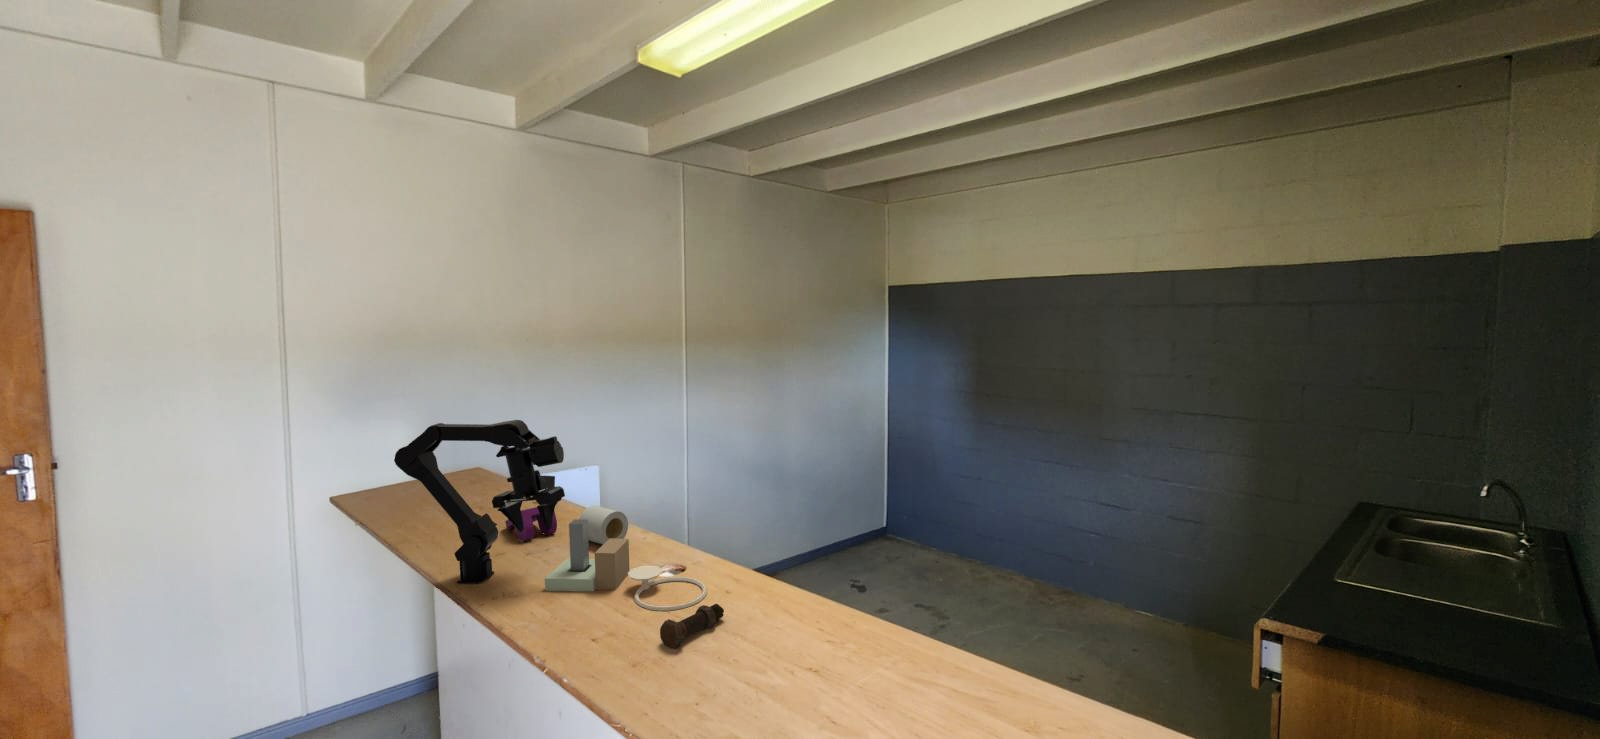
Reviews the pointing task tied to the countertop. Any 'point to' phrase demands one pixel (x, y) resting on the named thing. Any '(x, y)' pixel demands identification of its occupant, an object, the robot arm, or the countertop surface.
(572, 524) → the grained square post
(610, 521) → the toilet paper
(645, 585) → the hand towel holder
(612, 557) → the square holed base
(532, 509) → the mounting bracket
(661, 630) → the bolt
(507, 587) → the countertop surface
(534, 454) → the robot arm
